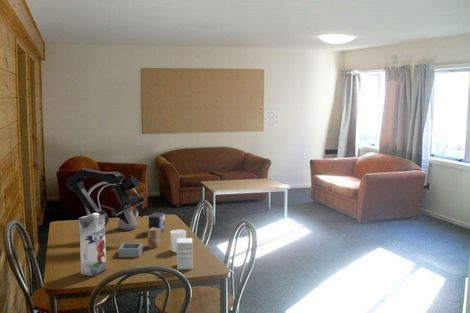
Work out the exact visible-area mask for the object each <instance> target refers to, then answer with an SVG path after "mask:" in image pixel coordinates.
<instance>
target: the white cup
mask: <svg viewBox="0 0 470 313" xmlns="http://www.w3.org/2000/svg"><path fill="white" fill-rule="evenodd" d="M177 238H187V230H185V229H182V228H181V229H179V228H178V229H173V230H170V246H171V252H173V253H177Z"/></svg>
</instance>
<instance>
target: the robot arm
mask: <svg viewBox="0 0 470 313" xmlns="http://www.w3.org/2000/svg"><path fill="white" fill-rule="evenodd" d="M86 178H90V179H97V180H101V181H104V182H105V183H107V184H109V185H110V188H109V191H114V193H115V194H116V197H117V201H118V202H119V203H120V205H121V206H119V207H116V208H113V209H114V210H110V212H111V213H110V214H111V217H116V218H118V219H121V220H123V221H124V222H125V223H126V224H127V225H128V224H129V223H128V220H127V219H126V217H125V215H124V212H123V210H125V209H127V208H129V207H131V206H132V207H133V206H134V208H135V210H136V211H137V213H138V215H139V216H140V217H141V218H143V217H144V214H143V205H144V204H145V201H146V199H145V197H143V196H141V197H140V195H139V193H138V192H134V193H133V194H132V195H131V194H130V193H129V191H131V190H133V189H136V188H137V187H139V180H138V179H137V178H136V177H135V176H134V175H133V174H131V175H129V176H127V177H125V176H123V175H122V174H121V172H118V171H108V172H107V171H100V170H94V169H90V168H81V169H79V170H78V171H77V172H75V173H74V174H72V175H71V176H69V177H67V178H66V180H65V185H66V187H67V188H68V189H69V190H71V191H72V192H74V193H76V195H77V197H78V198H79V200H81V202H82V203H83V205H84V207H85V208H86V209H87V210H88V212H89V214H93V213H99V214H100V215H105V228H106V227H107V225H108V223H109V220H110V219H109V214H107V212H106V210H105V209H103V210H101V209H100V208H99V207H98V206H97V204H96V203H95V202H94V199H92V197H91V196H90V194H89V193H88V191H87V190H86V189H85V185H84V181H83V180H84V179H86ZM125 206H126V207H125ZM106 237H107V231H106V229H105V239H106Z"/></svg>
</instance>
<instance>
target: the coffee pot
mask: <svg viewBox="0 0 470 313" xmlns="http://www.w3.org/2000/svg"><path fill="white" fill-rule="evenodd" d="M126 206H127V205H126ZM126 206H125V207H126ZM99 208H105V209H106V210H110V211H112V210H114V209H115V208H112V207H110V206H106V205H102V204H101V205H100V206H99ZM133 208H134V207H133V206H131V207H129V208H127V209H125V210H123V211H122V212H124V215H125V217H126V219H127V220H128V223H129V224H128V225H127V224H126V223H125V222H124V221H123V220H121V219H120V218H118V222H117V226H118V228H119V229H121V231H132V230H134V229H135V228H136V227H137V226H138V221H137V219H136V217H135V214H134V213H133Z"/></svg>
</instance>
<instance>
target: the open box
mask: <svg viewBox="0 0 470 313" xmlns="http://www.w3.org/2000/svg"><path fill="white" fill-rule="evenodd" d="M143 244H144V243H143V242H122V244H121V245H120V247H119V248H118V258H140V257H141V255H142V253H143V251H144V248H143V246H144V245H143Z"/></svg>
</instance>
